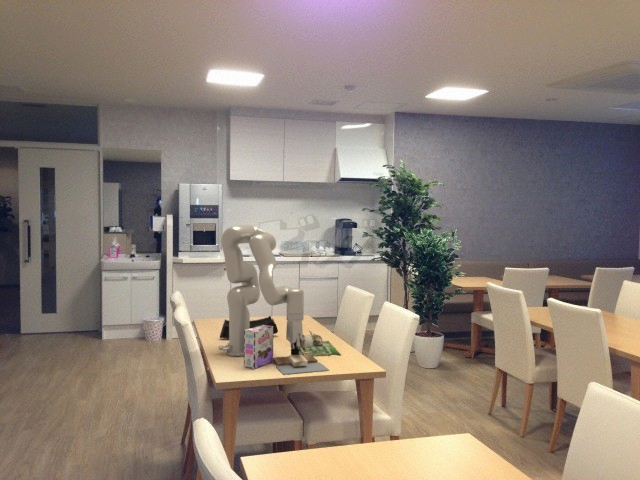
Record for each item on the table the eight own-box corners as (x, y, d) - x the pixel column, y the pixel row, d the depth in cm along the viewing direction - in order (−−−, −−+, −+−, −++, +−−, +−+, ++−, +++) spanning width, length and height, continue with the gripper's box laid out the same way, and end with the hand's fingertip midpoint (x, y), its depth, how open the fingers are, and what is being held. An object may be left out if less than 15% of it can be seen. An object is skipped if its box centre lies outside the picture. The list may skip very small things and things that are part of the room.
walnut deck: (278, 367, 243) (278, 363, 243) (272, 361, 252) (272, 357, 252) (317, 363, 249) (317, 360, 249) (310, 357, 258) (310, 354, 258)
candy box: (254, 369, 239) (254, 331, 238) (243, 367, 242) (243, 329, 241) (273, 362, 250) (274, 325, 249) (263, 360, 253) (263, 324, 252)
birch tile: (293, 366, 239) (294, 362, 239) (288, 359, 248) (288, 355, 248) (307, 365, 241) (307, 360, 241) (301, 358, 250) (301, 354, 250)
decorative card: (289, 327, 291) (327, 326, 295) (289, 341, 292) (326, 340, 295) (298, 341, 259) (341, 340, 263) (298, 358, 260) (340, 356, 263)
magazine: (215, 323, 290) (270, 304, 298) (214, 322, 293) (269, 303, 301) (225, 354, 292) (279, 334, 301) (224, 352, 295) (277, 333, 304)
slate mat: (283, 374, 231) (283, 374, 231) (275, 367, 242) (275, 366, 242) (329, 370, 238) (329, 369, 238) (319, 363, 249) (319, 362, 249)
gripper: (282, 313, 255) (282, 354, 256) (292, 320, 241) (291, 362, 242) (297, 313, 258) (297, 352, 259) (308, 318, 244) (308, 360, 245)
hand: (294, 357), depth 250 cm, fingers closed
